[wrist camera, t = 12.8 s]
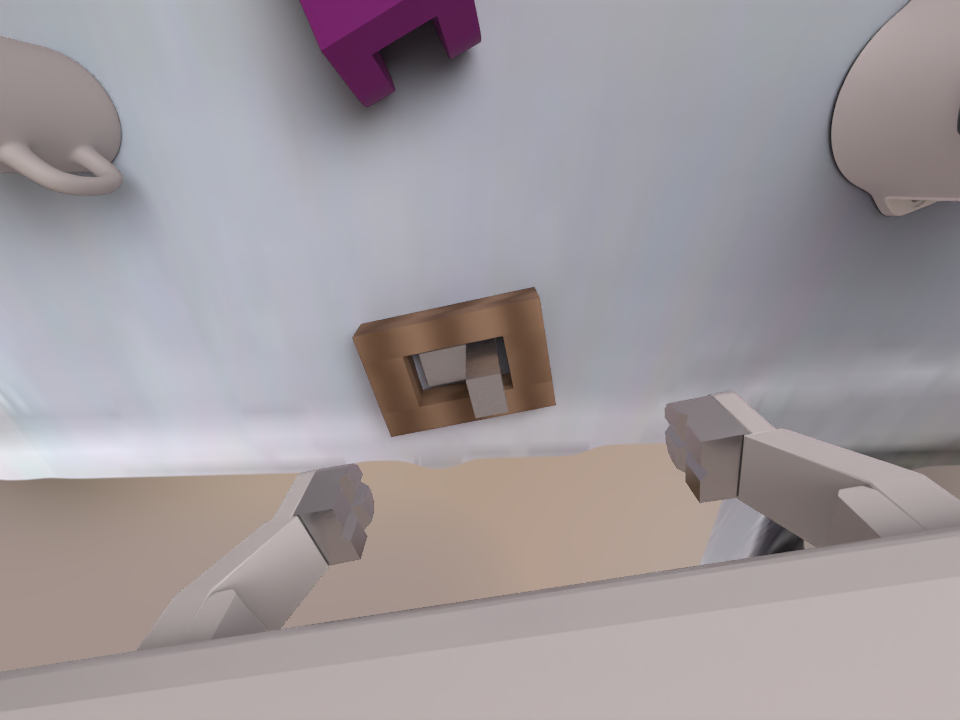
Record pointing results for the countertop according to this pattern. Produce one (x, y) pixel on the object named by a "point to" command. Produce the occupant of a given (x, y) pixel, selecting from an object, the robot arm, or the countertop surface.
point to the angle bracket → (470, 373)
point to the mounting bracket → (384, 35)
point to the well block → (447, 326)
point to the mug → (56, 121)
